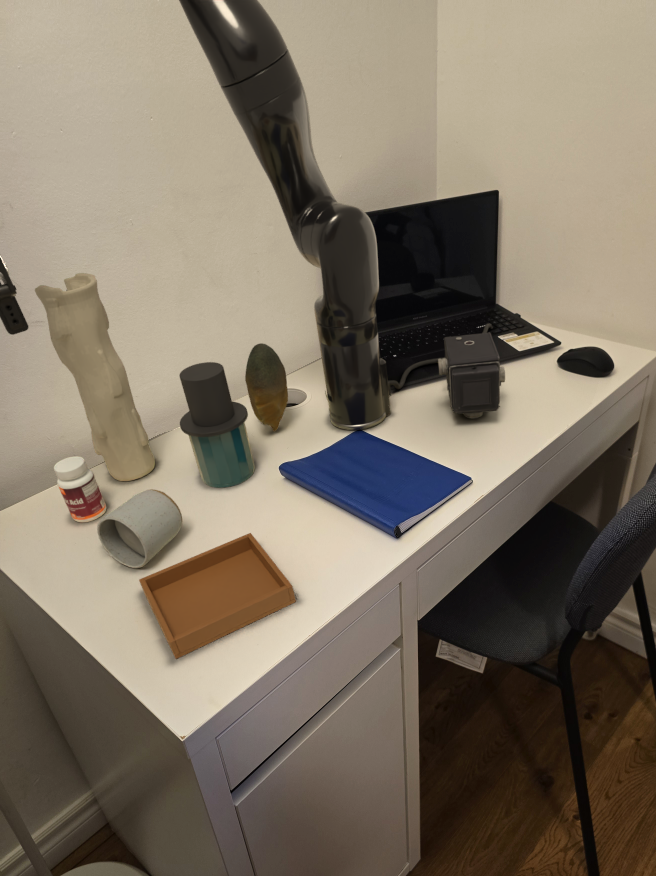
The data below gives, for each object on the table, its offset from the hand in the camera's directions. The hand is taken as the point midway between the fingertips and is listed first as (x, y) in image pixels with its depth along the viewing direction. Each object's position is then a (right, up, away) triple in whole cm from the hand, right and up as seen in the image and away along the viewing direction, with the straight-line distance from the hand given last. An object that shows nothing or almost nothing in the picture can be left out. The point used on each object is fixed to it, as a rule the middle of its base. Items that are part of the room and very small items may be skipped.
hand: (11, 322), depth 75 cm
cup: (+20, -16, +24) cm, 35 cm away
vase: (+4, -16, +27) cm, 32 cm away
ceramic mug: (+11, -27, +10) cm, 31 cm away
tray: (+24, -32, +1) cm, 40 cm away
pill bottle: (+1, -23, +18) cm, 29 cm away
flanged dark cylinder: (+19, -10, +19) cm, 29 cm away
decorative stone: (+25, -9, +33) cm, 43 cm away
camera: (+58, -5, +33) cm, 67 cm away
